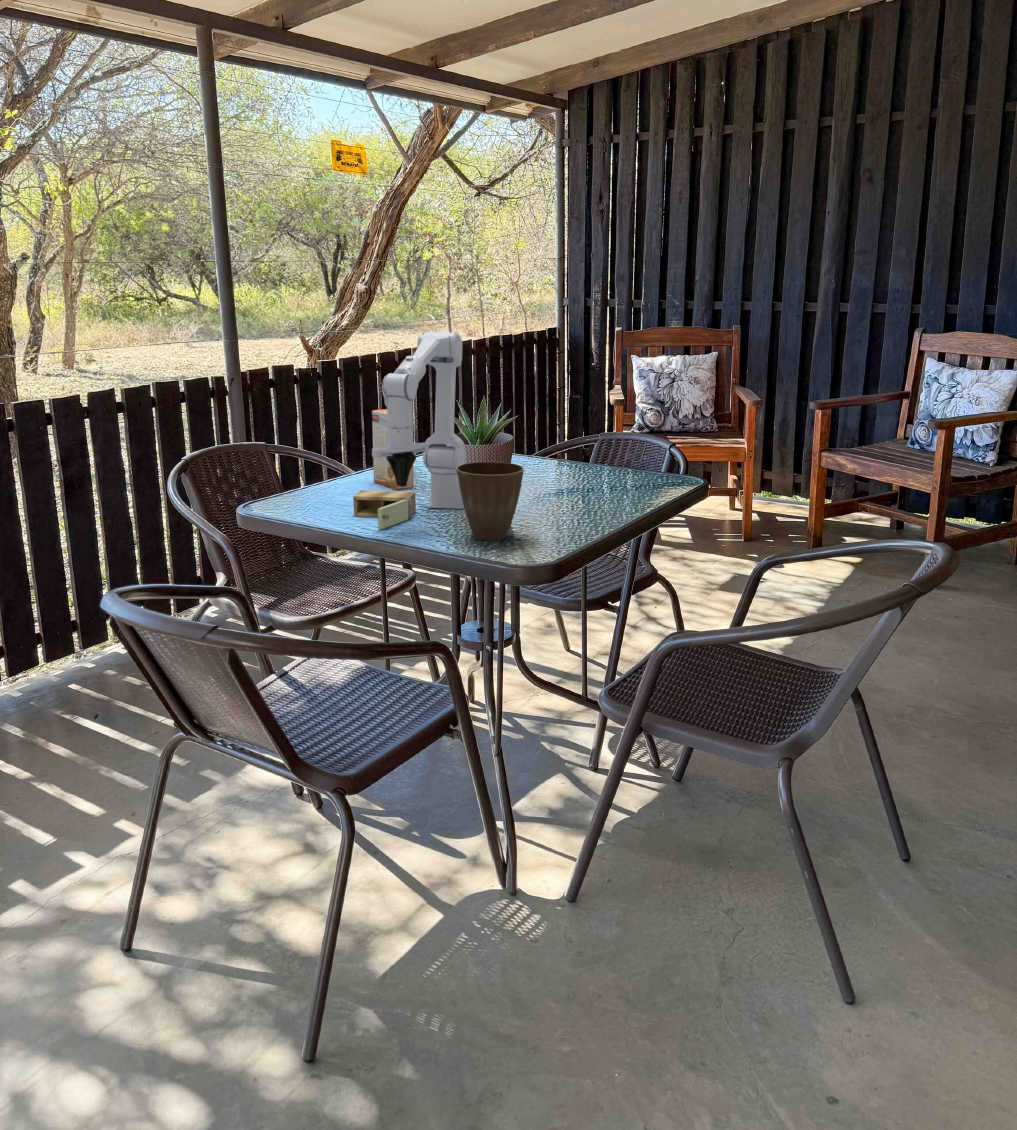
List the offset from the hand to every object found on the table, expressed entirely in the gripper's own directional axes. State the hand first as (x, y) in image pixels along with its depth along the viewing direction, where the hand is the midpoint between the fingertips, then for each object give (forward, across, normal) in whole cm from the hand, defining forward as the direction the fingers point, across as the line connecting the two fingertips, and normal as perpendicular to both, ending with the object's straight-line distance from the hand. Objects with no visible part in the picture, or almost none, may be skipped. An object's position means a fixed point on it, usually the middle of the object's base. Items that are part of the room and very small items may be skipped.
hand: (401, 485), depth 221 cm
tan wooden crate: (+10, -6, -15) cm, 19 cm away
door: (+10, -2, -4) cm, 11 cm away
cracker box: (+10, -27, -43) cm, 52 cm away
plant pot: (+10, -11, +19) cm, 24 cm away
